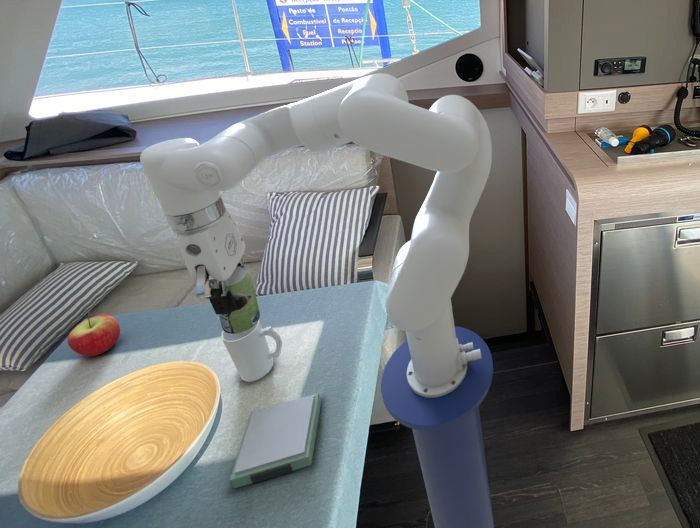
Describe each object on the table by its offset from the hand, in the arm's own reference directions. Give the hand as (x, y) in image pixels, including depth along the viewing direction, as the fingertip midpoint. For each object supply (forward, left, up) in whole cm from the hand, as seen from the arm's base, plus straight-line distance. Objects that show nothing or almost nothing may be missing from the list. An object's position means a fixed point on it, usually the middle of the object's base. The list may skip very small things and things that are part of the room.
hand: (234, 297), depth 75 cm
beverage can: (0, 0, -7) cm, 7 cm away
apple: (+42, -25, -25) cm, 55 cm away
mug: (+3, -7, -25) cm, 26 cm away
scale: (-4, +11, -25) cm, 28 cm away
